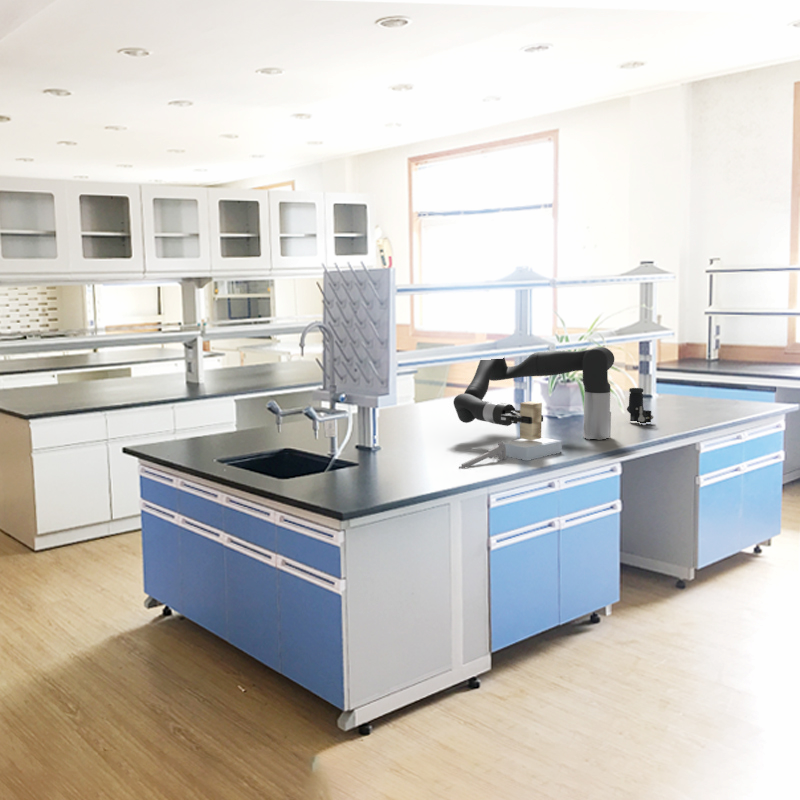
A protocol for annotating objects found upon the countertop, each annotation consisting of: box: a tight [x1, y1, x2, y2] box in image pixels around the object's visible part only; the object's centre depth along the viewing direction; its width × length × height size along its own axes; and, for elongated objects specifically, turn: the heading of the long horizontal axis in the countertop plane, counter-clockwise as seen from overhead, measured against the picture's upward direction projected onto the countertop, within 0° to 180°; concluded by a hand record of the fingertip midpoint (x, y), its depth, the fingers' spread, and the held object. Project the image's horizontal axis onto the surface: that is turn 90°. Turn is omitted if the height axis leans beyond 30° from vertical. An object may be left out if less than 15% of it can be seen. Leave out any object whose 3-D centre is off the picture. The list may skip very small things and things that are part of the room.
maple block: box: [519, 401, 543, 440], centre depth 283 cm, size 5×5×12 cm
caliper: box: [458, 440, 507, 469], centre depth 270 cm, size 20×1×6 cm, turn 130°
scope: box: [626, 387, 654, 423], centre depth 338 cm, size 8×14×10 cm
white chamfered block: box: [501, 436, 563, 461], centre depth 284 cm, size 18×12×4 cm, turn 131°
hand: (536, 419), depth 281 cm, fingers closed on maple block, 5 cm apart
